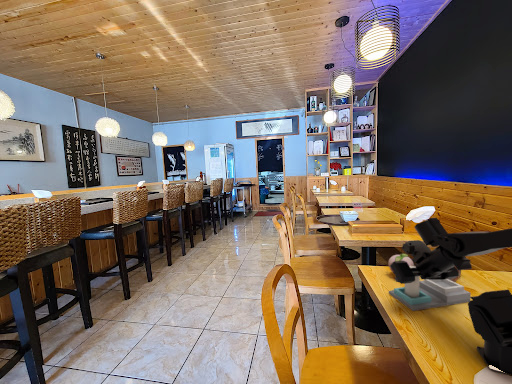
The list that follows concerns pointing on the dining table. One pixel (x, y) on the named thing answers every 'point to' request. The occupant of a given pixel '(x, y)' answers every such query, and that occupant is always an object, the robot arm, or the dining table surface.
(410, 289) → the white rounded cylinder
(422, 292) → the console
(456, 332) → the dining table surface
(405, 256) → the decorative fruit
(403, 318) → the dining table surface
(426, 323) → the dining table surface
